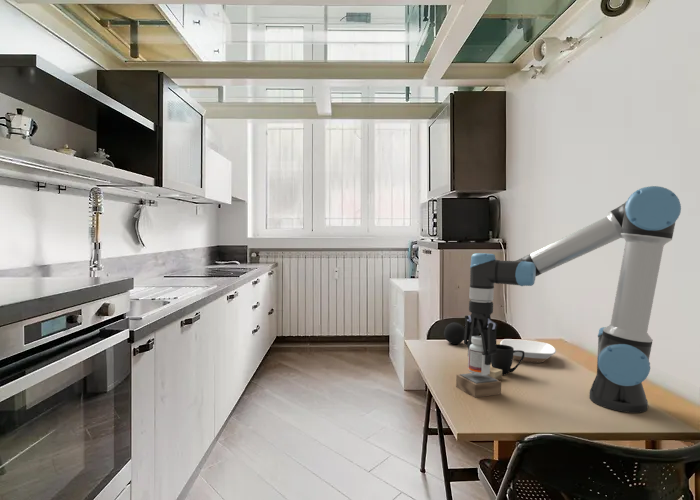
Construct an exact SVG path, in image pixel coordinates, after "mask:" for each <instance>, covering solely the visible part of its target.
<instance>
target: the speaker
mask: <svg viewBox="0 0 700 500" xmlns="http://www.w3.org/2000/svg"><path fill="white" fill-rule="evenodd" d="M464 334H465V326H463V325H462V324H461V323H459V322H454V321H453V322H450V323H449V324H447V325H446V326H445V328H444V330H443V335H444V338H445V340H446V341H447V342H448V343H450V344H452V345H458V344H461V343H463V342H464Z"/></svg>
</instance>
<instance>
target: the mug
mask: <svg viewBox="0 0 700 500" xmlns="http://www.w3.org/2000/svg"><path fill="white" fill-rule="evenodd" d="M496 346H497V353H496V354H492V355H491V367H494V368H497V369H501V370H502V376H503V375H504V374H505V375H509V373H514V372H515V370H516V369H517V368H518V367H519V365H520V364H521V363H522V362H523V361H522V360H523V359H524V354H525V353H524V351H521V350H514V349H513V347H511V346H507V345H501V344H500V343H499V344H498V343H496ZM515 352H522V358H521V360H520V361H518V362H517V364H516V365H515V366H514V367H512V365H513V361H514V359H513V353H515ZM511 367H512V368H511Z"/></svg>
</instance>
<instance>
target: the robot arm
mask: <svg viewBox="0 0 700 500" xmlns="http://www.w3.org/2000/svg"><path fill="white" fill-rule="evenodd" d="M681 205H682V204H681V201H680V199H679V197H678V195H676V193H675V192H673V191H672V190H671V189H669V188H666V187H663V186H658V185H656V186H653V185H651V186H645V187H641V188H639V189H637V190H635V191H634V192H632V193H631V194H630V195H629V197H628V198H627V200H626V201H625V202H624V203H623V204H621V205H619V206H618V207H616V208H613V209H611V210H609V212H608V214H607V216H605V217H603V218H601V219H599V220H597V221H595V222H593V223H591V224H588V225H586V226H585V227H583V228H580V229H578V230H576V231H575V232H572V233H569V234H568V235H566V236H565V237H562V238H560V239H558V240H556V241H554V242H552V243H550V244H547V245H545V246H544V247H542V248H539V249H538V250H535V251H533V252H531V253H529V254H527V255H524V256H523V257H521V258H519V259H517V260H499V259H497V258H496V255H495V254H494V253H484V252H483V253H482V252H477V253H476V252H475V253H473V254H472V255H471V257H470V258H471V259H470V265H469V269H470V271H469V272H470V273H469V275H470V276H469V296H468V298H469V301H468V311H469V312H470V315H465V316H464V321H465V323H464V329H465V334H464V340H463V344H464V345H465V346H466V347H467V359H468V360H467V369H469V347H470V345H471V344H473V343H472V342H471V338H472V336H479V333H480V336H481V338H482V344H483V350H484V353H482V367H481V374H482V375H488V374H490V367H491V366H492V364H491V355H492V354H496V353H497V346H496V344H497V329H498V325H499V324H498V322H494V321H493V320H492V318H491V315H492V314H493V313H494V302H493V300H494V292H495V291H494V290H495V284H498V285H499V284H500V285H513V286H519V287H533V286H534V285H535V283H536V277H538V276H540V275H541V274H544V273H547V272H548V271H549V272H550V271H551V270H552V269H553V270H554V269H555V268H557V267H560V266H562V265H564V264H567V263H569V262H571V261H573V260H575V259H577V258H579V257H582V256H583V255H586V254H588V253H589V254H590V253H591V252H593V251H595V250H597V249H601V248H602V247H604V246H607V245H608V244H610V243H613V242H615V241H617V240H619V239H624V240H625V244H624V249H623V255H622V261H621V266H620V270H619V271H620V272H619V276H618V283H617V287H616V292H615V293H616V294H615V296H614V297H615V298H614V305H613V309H612V315H611V319H610V324H609V325H608V326H605V327H604V326H602V327H600V328H599V329H598V333H597V338H598V339H597V362H596V363H597V364H596V375H595V378H594V380H593V382H592V384H591V387H590V389H589V395H588V396H589V400H590V401H591V402H593V403H595V404H596V405H598V406H601V407H604V408H606V409H610V410H614V411H617V412H623V413H635V414H636V413H639V414H640V413H644V412H646V411H648V406H649V405H648V404H649V403H648V399H647V396H646V393H645V389H644V386H643V382H645V380H646V379H647V378H648V376H649V374H650V372H651V362H650V357H651V352H652V351H651V350H652V347H653V346H652V345H653V339H652V337H651V335H649V333H648V330H649V324H650V318H651V315H652V309H653V303H654V298H655V292H656V287H657V282H658V278H659V272H660V266H661V262H662V256H663V251H664V246H665V245H666V244H668V243H669V242H671V241H673V236H674V232H675V226H676V222H677V220H678V219H679V217H680V215H681V211H682V206H681ZM487 350H488V351H487Z"/></svg>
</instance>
